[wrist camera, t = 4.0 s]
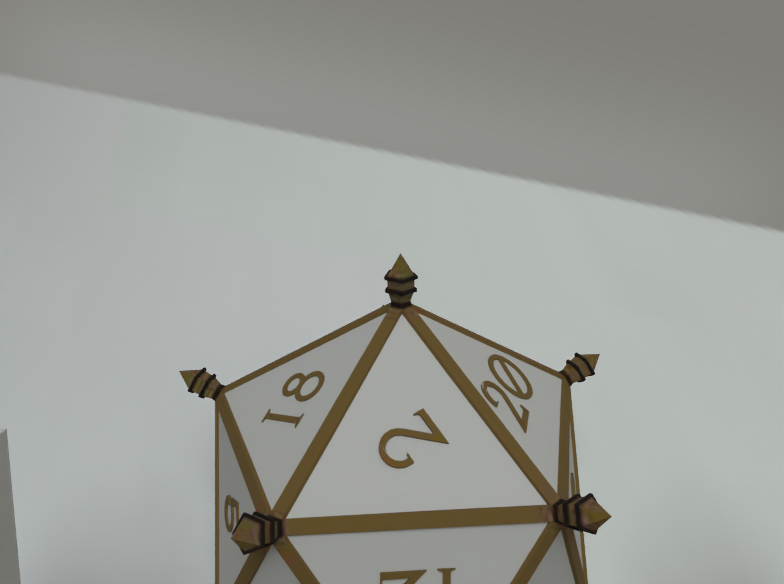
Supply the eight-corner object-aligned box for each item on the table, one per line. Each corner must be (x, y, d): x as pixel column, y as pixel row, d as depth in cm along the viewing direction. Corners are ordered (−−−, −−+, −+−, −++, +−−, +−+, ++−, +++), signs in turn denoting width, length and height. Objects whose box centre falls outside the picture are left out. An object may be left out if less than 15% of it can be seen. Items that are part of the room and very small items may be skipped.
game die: (354, 508, 22) (345, 177, 18) (646, 626, 17) (711, 226, 14) (102, 756, 14) (2, 287, 11) (496, 1054, 10) (550, 459, 7)
